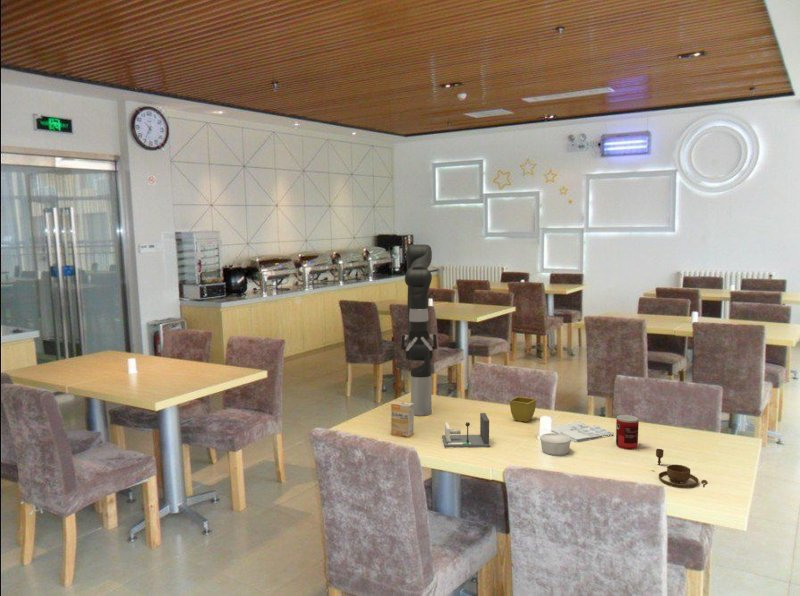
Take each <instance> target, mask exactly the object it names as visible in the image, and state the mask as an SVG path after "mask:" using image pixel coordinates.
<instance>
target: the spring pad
mask: <svg viewBox="0 0 800 596" xmlns="http://www.w3.org/2000/svg"><path fill="white" fill-rule="evenodd" d="M444 435H445V437H446V440H447V442H449V443H451V439H450V435H462V433H461V429H451V427H450V425H449V422H446V421H445V422H444Z"/></svg>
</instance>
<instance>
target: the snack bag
mask: <svg viewBox="0 0 800 596" xmlns="http://www.w3.org/2000/svg"><path fill="white" fill-rule="evenodd" d="M551 426H552V431H551V433H557V434H563V435H567V436H569V437H570V438H571V442H573V443H580V442H585V441H590V440H589V439H591V440H595V439H594V438H597V439H599V438H598V437H602V436H608V435H612V436H613V435H614V432H611V431H610V430H607V429H605V428H603V427H600V426H598V425H596V424H595V425H592V426H589V425H587V424H585V423H583V422H581V421H577V422H570V423H563V424H558V425H557V424H556V425H551ZM608 437H609V436H608ZM602 438H603V437H602Z"/></svg>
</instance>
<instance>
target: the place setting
mask: <svg viewBox="0 0 800 596" xmlns="http://www.w3.org/2000/svg"><path fill="white" fill-rule="evenodd" d="M655 456H656V458H657V466H662V464H661V463H662V460H661V459H662V458H664V449H662V448H656V449H655ZM652 472H654V473H655V472H656V471H655V470H652ZM666 476H667V477H668V478H669V479H670V480H671V481H667V480H665V479H663V477H666ZM658 479H659V481H660V482H662V484H665V485H667V486H670V487H673V488H680V489H689V488H695V487H696V486H698V485H699V482H700V483H701V484H702V485H703V486H702V488H705V486H706V485H707V484H708V480H706V479H702V480H701V481H700V479H699V478H698V477H696V475H693V474H691V468H689V467H687V466H686V465H682V464H669V465H667V467H666V470H665V471H661V472H659V473H658ZM689 479H690V480H692V481H694V483H691V484H688V483H687V484H684V483H685V482H687V481H689Z"/></svg>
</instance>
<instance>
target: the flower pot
mask: <svg viewBox="0 0 800 596" xmlns="http://www.w3.org/2000/svg"><path fill="white" fill-rule="evenodd" d="M536 406H537V398H531V397H524V396H516V397H514V398H512V399H510V400H509V407H510V413H511V415H512V418H513V419H514V421H516V420H518V421H517V422H522V421H524V423H526V421H527V422H529V421H530V420H532V418H533V417H534V415H535V412H536ZM528 420H529V421H528Z"/></svg>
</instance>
